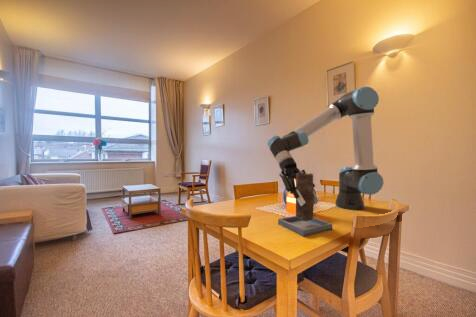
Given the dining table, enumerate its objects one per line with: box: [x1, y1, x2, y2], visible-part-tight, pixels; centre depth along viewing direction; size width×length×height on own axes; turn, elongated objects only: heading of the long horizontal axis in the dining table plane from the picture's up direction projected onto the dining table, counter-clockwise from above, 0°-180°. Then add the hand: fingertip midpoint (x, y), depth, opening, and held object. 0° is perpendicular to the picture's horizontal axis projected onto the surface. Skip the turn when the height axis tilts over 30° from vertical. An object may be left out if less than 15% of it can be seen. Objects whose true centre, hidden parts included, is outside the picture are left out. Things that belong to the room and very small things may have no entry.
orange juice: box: [286, 179, 296, 216], centre depth 119 cm, size 8×9×20 cm
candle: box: [295, 172, 314, 221], centre depth 97 cm, size 8×7×20 cm
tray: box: [277, 215, 333, 237], centre depth 98 cm, size 16×16×2 cm
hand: (310, 203), depth 94 cm, fingers closed on candle, 7 cm apart
